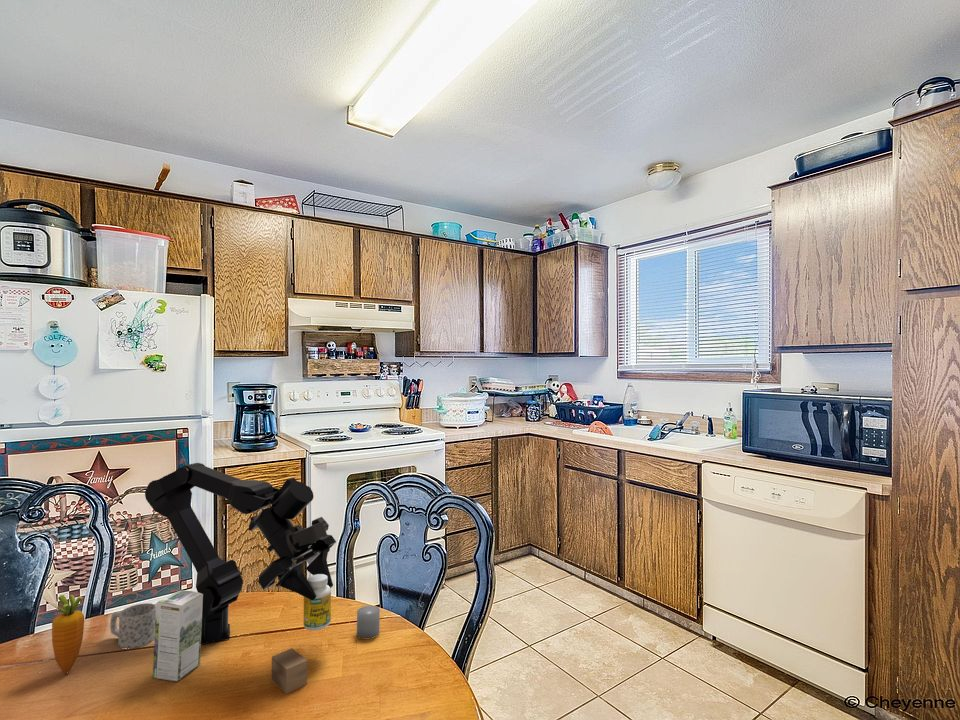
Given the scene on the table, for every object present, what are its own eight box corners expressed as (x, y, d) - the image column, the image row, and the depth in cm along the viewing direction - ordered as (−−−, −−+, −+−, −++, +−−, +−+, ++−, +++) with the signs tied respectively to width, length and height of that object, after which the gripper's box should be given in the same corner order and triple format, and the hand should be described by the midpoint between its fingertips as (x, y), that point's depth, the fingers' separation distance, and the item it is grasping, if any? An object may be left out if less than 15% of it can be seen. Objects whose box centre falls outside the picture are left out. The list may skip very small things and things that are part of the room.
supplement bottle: (326, 616, 106) (327, 570, 106) (334, 626, 101) (334, 579, 102) (300, 622, 103) (301, 576, 103) (307, 634, 98) (307, 585, 99)
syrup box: (176, 661, 100) (178, 588, 100) (201, 665, 99) (203, 591, 99) (152, 678, 94) (154, 601, 95) (178, 682, 93) (180, 604, 94)
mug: (162, 634, 110) (163, 604, 110) (137, 651, 104) (138, 618, 104) (124, 630, 112) (125, 600, 112) (96, 646, 105) (98, 614, 106)
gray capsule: (354, 630, 113) (354, 608, 113) (375, 625, 115) (376, 603, 115) (359, 641, 108) (360, 618, 108) (382, 635, 111) (382, 613, 111)
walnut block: (271, 680, 94) (271, 656, 94) (291, 671, 97) (291, 648, 97) (286, 694, 90) (286, 669, 90) (306, 684, 93) (307, 660, 93)
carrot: (89, 668, 97) (91, 591, 98) (60, 683, 92) (63, 601, 93) (72, 663, 99) (74, 587, 99) (43, 677, 94) (46, 597, 95)
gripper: (272, 520, 95) (320, 587, 91) (330, 498, 113) (371, 553, 109) (238, 556, 97) (283, 623, 93) (299, 529, 115) (339, 584, 111)
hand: (323, 592), depth 102 cm, fingers closed on supplement bottle, 5 cm apart
